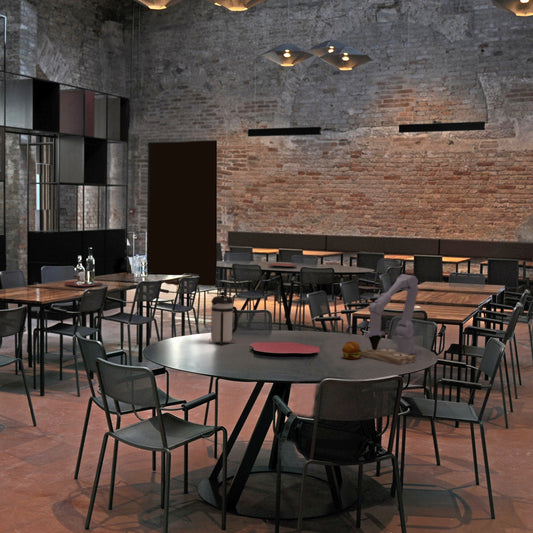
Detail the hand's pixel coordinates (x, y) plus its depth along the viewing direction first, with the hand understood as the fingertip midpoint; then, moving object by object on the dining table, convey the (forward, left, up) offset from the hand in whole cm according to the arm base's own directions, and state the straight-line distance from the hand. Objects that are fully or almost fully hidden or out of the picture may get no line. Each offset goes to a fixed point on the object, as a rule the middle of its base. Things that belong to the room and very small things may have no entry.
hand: (374, 349), depth 404 cm
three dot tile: (0, +18, -3) cm, 18 cm away
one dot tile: (0, 0, -3) cm, 3 cm away
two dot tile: (0, +9, -1) cm, 9 cm away
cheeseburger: (+14, -3, -4) cm, 15 cm away
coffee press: (+46, -76, -4) cm, 89 cm away
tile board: (0, +9, -4) cm, 10 cm away
